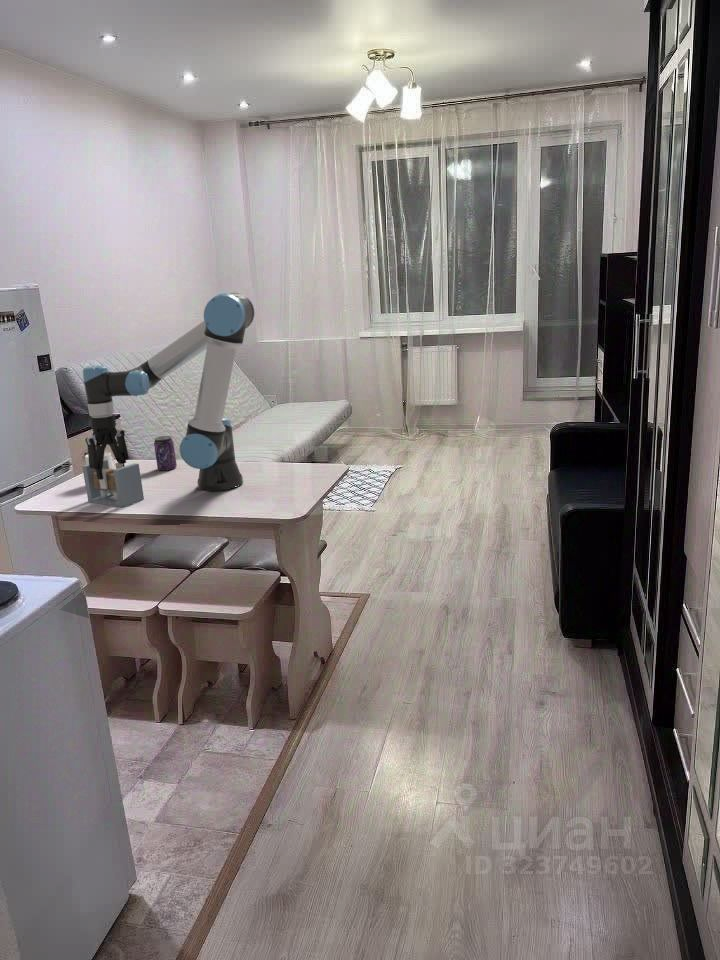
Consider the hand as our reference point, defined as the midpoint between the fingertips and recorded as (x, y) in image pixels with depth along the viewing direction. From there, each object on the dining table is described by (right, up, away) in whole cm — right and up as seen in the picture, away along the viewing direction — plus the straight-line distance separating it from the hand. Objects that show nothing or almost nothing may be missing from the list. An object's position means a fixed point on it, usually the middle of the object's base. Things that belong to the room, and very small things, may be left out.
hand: (113, 485), depth 232 cm
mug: (-11, +1, +24) cm, 27 cm away
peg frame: (+1, -5, +1) cm, 5 cm away
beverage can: (+7, +6, +38) cm, 39 cm away
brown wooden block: (0, 0, 0) cm, 0 cm away
